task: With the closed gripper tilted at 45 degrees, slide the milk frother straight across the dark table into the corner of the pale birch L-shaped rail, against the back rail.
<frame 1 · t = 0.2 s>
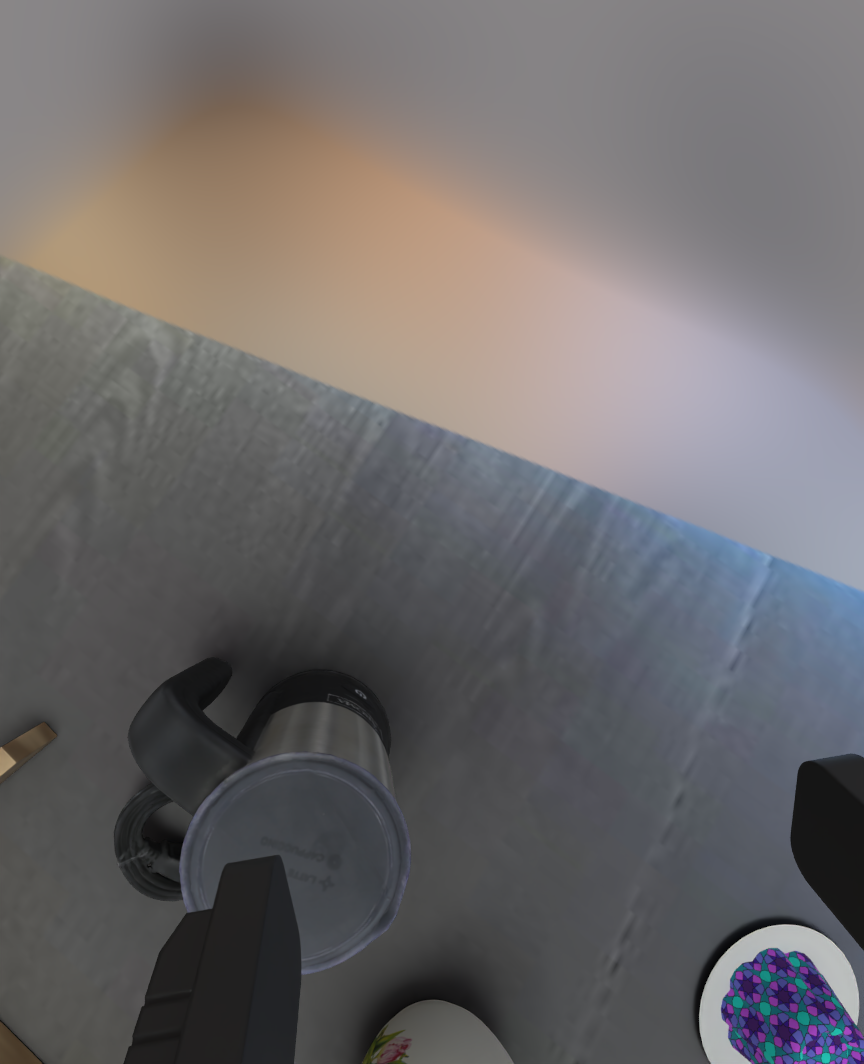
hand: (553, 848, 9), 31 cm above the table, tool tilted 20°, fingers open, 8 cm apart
milk frother: (267, 776, 39), on the table
pudding: (771, 1000, 43), on the table
pitcher: (420, 1061, 40), on the table
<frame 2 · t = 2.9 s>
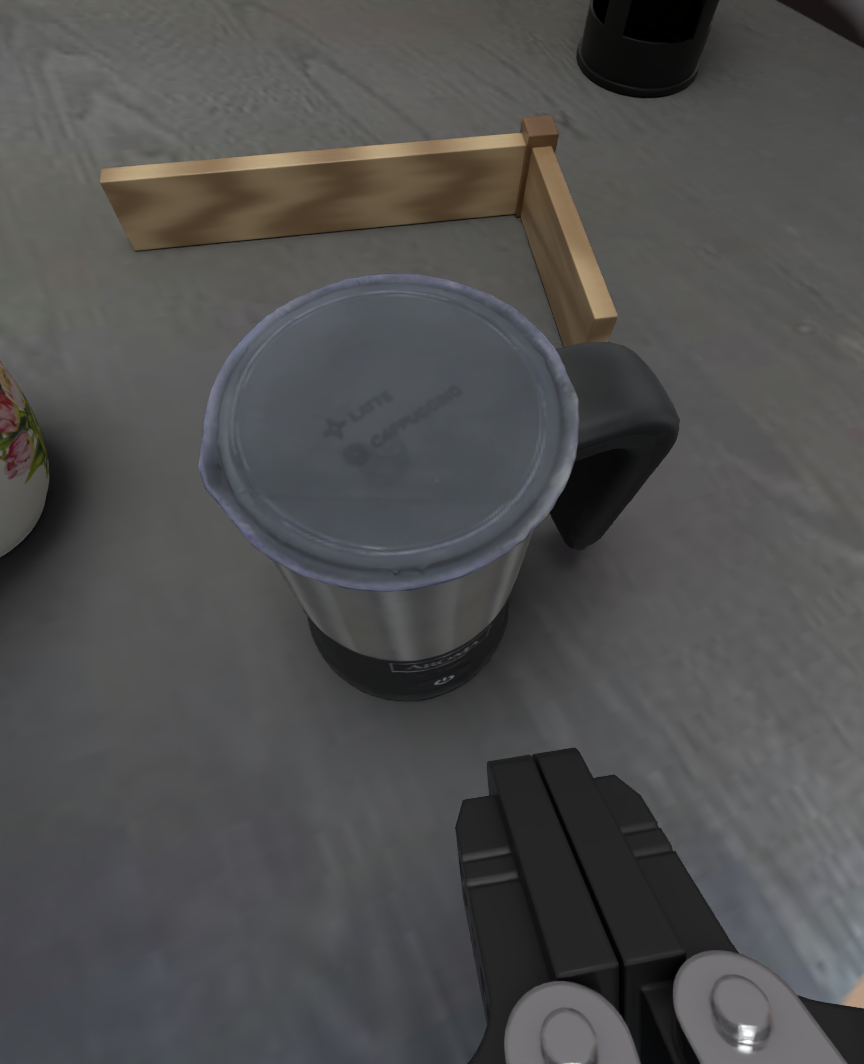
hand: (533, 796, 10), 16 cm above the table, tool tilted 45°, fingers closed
milk frother: (405, 524, 30), on the table
corner rail: (340, 220, 39), on the table
french press: (639, 61, 47), on the table
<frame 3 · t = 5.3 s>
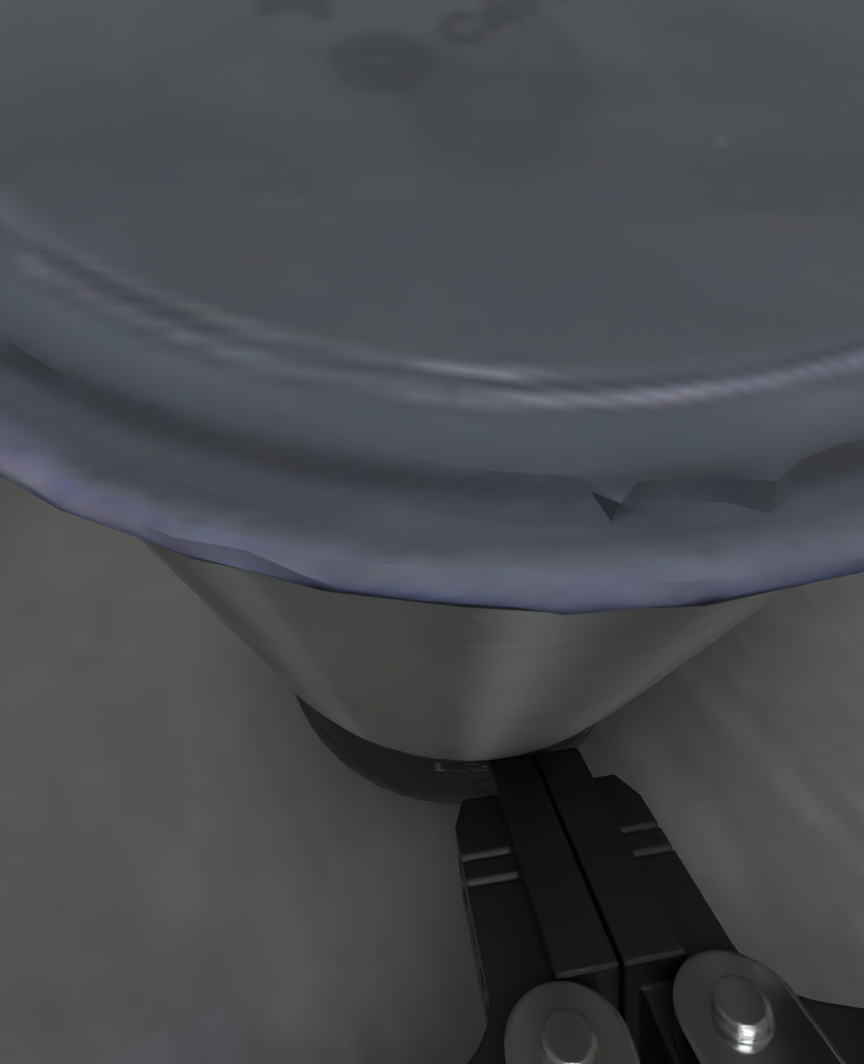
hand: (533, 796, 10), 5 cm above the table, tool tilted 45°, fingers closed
milk frother: (442, 507, 19), on the table, touching gripper
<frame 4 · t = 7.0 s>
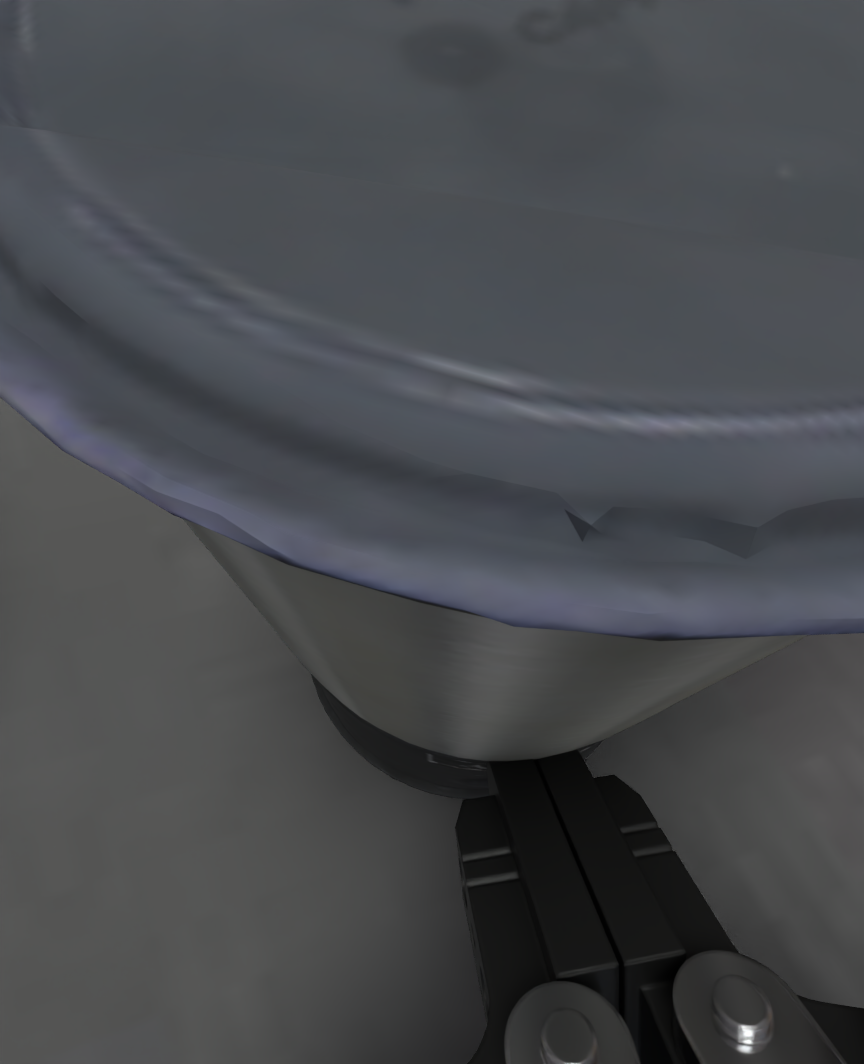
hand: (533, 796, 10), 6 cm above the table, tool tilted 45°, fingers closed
milk frother: (481, 504, 19), on the table, touching gripper
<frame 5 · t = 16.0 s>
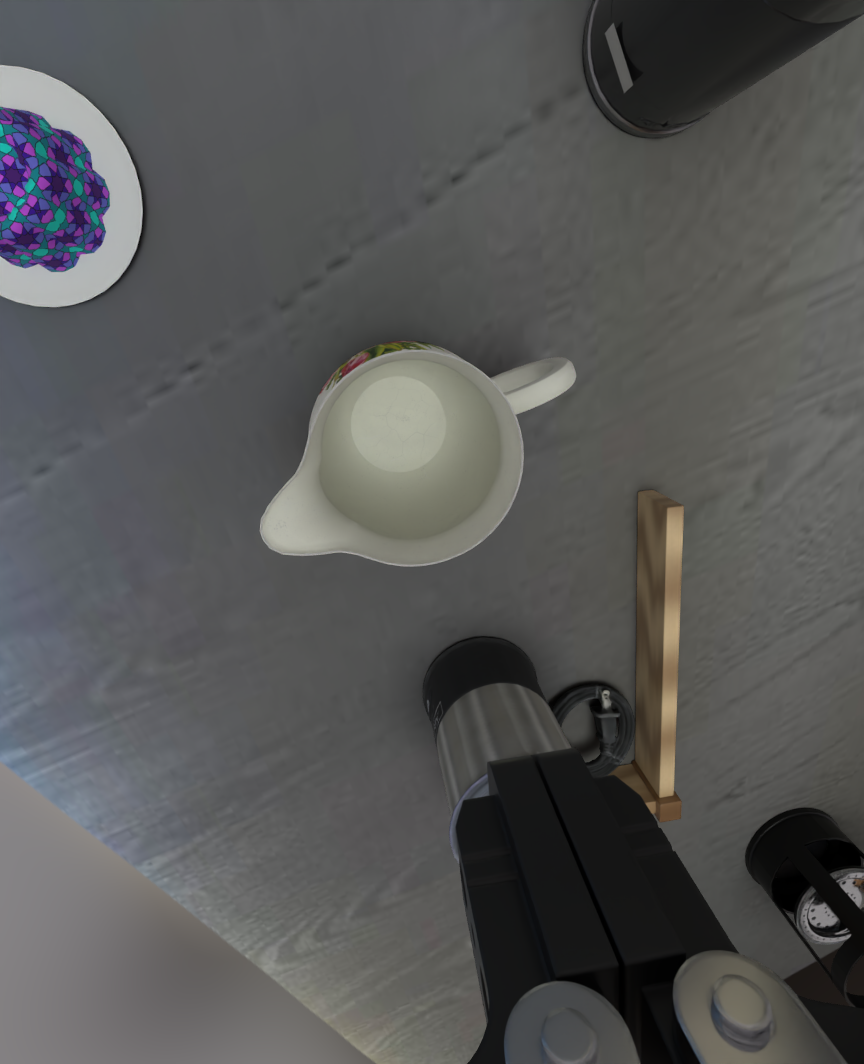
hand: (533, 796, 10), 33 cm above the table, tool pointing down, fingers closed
milk frother: (524, 697, 49), on the table
pudding: (37, 196, 35), on the table
pitcher: (411, 418, 41), on the table
corner rail: (647, 642, 49), on the table
french press: (792, 849, 58), on the table
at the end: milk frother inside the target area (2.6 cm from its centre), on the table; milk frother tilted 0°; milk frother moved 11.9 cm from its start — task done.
